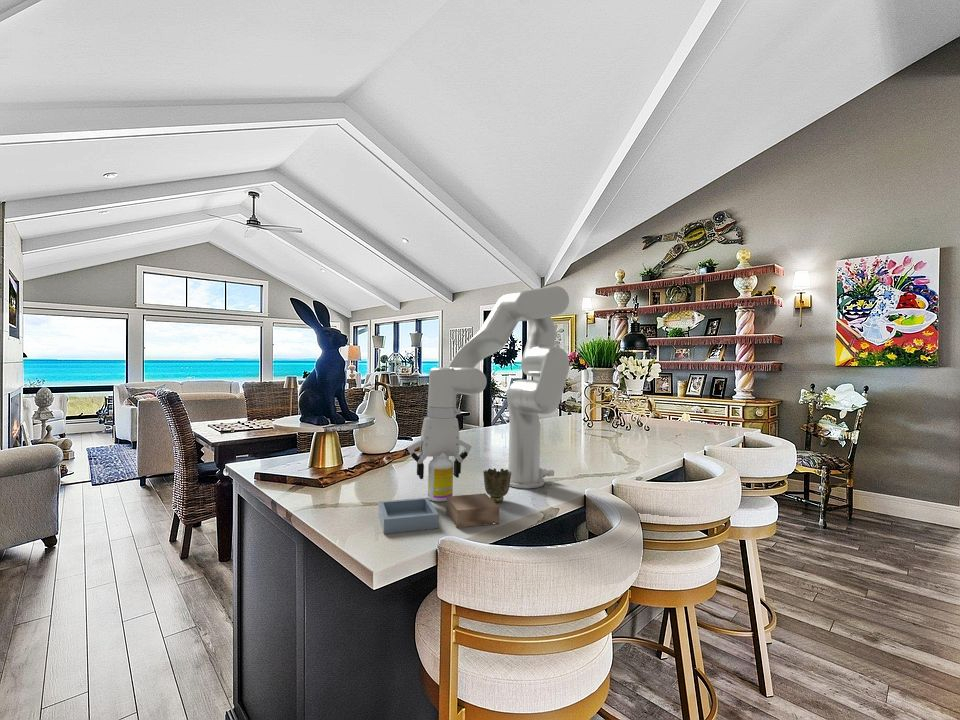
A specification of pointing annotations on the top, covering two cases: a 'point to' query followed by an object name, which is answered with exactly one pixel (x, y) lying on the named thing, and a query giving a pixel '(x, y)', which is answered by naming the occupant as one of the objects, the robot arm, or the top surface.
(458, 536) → the top surface
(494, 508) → the walnut riser block
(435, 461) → the supplement bottle
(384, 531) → the slate ceramic holder
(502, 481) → the cup
